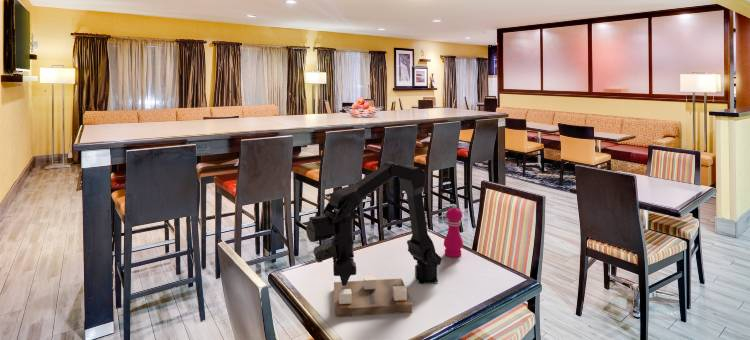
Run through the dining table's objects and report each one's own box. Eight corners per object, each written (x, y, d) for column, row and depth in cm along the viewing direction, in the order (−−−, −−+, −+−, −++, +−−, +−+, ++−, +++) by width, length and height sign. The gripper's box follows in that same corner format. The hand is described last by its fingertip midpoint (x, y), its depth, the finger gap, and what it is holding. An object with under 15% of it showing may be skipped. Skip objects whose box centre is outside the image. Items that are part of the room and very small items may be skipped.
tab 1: (351, 298, 128) (350, 288, 128) (351, 303, 126) (351, 293, 125) (338, 299, 128) (338, 289, 127) (339, 304, 125) (338, 294, 125)
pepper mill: (441, 256, 166) (442, 205, 162) (445, 249, 173) (447, 200, 169) (460, 259, 164) (462, 207, 160) (464, 252, 170) (465, 202, 166)
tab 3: (404, 295, 130) (405, 285, 130) (406, 300, 127) (406, 290, 127) (392, 295, 130) (392, 286, 129) (394, 300, 127) (394, 291, 126)
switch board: (401, 285, 143) (401, 278, 142) (412, 312, 126) (412, 304, 126) (334, 289, 140) (333, 281, 140) (335, 317, 124) (335, 308, 123)
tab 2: (375, 284, 137) (375, 275, 137) (376, 288, 134) (376, 279, 134) (363, 285, 137) (363, 276, 136) (364, 289, 134) (364, 280, 133)
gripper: (315, 225, 134) (317, 273, 137) (314, 248, 116) (315, 302, 119) (351, 224, 135) (352, 271, 138) (356, 246, 117) (356, 300, 120)
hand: (344, 285), depth 129 cm, fingers closed
